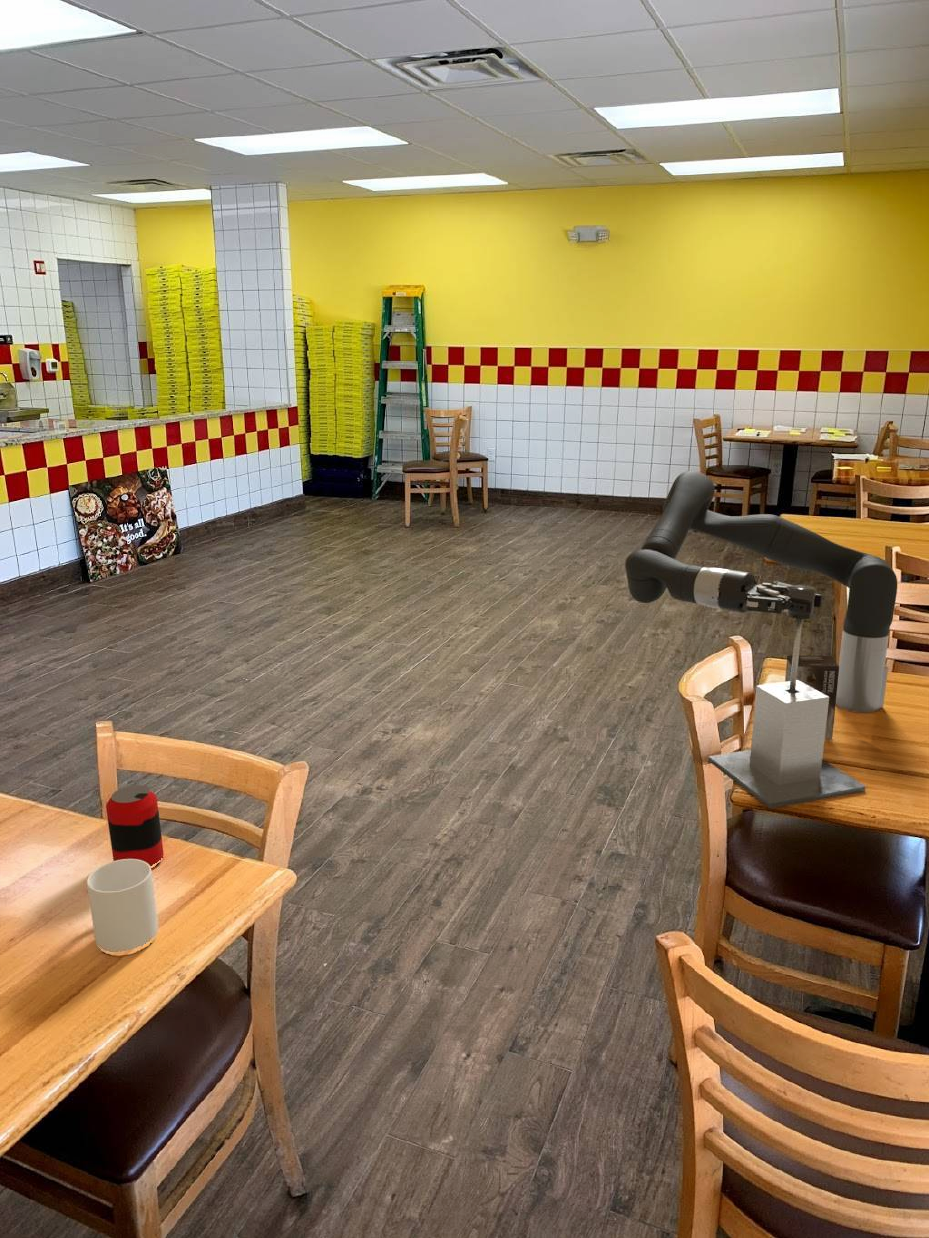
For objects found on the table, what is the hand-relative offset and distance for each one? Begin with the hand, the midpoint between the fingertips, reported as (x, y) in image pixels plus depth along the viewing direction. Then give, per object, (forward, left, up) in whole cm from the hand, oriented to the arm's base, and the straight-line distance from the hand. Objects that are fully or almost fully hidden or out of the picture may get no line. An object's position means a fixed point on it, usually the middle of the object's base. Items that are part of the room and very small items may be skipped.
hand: (816, 604), depth 163 cm
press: (+2, -2, -34) cm, 34 cm away
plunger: (+2, -2, -19) cm, 19 cm away
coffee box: (-14, -17, -34) cm, 41 cm away
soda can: (+117, -9, -34) cm, 122 cm away
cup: (+118, +9, -34) cm, 123 cm away
